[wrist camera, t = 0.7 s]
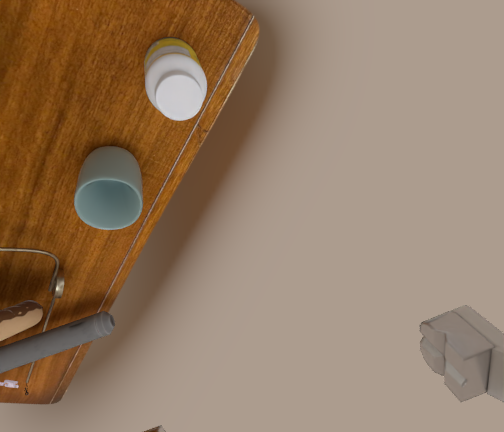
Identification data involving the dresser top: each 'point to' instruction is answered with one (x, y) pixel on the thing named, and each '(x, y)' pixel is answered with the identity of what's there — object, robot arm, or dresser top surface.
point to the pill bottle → (174, 78)
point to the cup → (109, 189)
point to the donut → (19, 318)
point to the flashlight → (55, 340)
